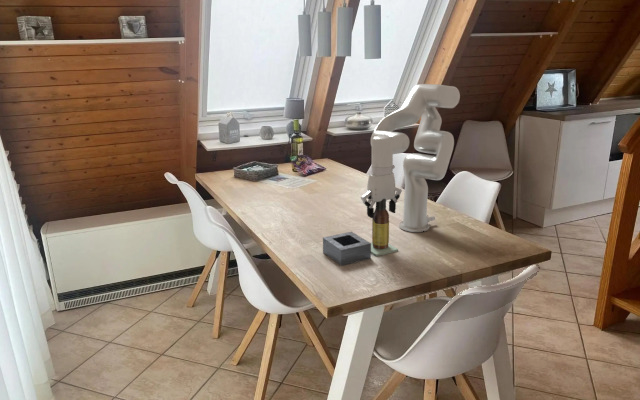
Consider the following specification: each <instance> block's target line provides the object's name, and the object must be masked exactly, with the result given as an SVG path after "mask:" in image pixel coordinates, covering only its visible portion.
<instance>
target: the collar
mask: <svg viewBox="0 0 640 400" xmlns="http://www.w3.org/2000/svg"><path fill="white" fill-rule="evenodd" d="M371 243H372V242H370V241H368V240H366V239H364V238H363V237H361V236H359V235H358V234H356V233H355V232H353V231H347V232H343V233H339V234H338V233H337V234H333V235H328V236H324V237H322V253H323V254H325V255H326V256H327V257H328V258H330V259H331V260H332V261H334V262H335V263H336V264H338V265H339V266H341V267H342V266H346V265H351V264H354V263H358V262H364V261H366V260H367V261H368V260H371V259H372V258H371V257H372V256H371V255H372V254H371Z"/></svg>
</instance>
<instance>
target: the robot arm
mask: <svg viewBox="0 0 640 400" xmlns="http://www.w3.org/2000/svg"><path fill="white" fill-rule="evenodd" d="M460 98H461V95H460V90H459V89H458V88H457V87H456V86H453V85H451V86H450V85H445V84H435V83H434V84H432V83H431V84H430V83H419V84H416V85H414V86H412V88H411V89H410V91H409V93H408V94H407V96H406V98H405V99H404V102H403V103H402V105H401V106H400V107H399V109H397V110H394V111H393V112H391V113H389V114H388V115H386V116H385V117H383V118H382V119H381V120H380V121H379V122H378V123H377V125H376V126H375V128H374V130H373V131H372V134H371V137H370V146H371V171H370V172H371V173H369V175H368V180H367V184H366V185H367V186H366V192H365V193H364V194H362V196H361V197H360V199H361V202H362V203H363V204H364V205H365V207H366V215H367V217H369V218H370V219H372V218H374V211H375V208H374V206H375V205H376V202H380V201H382V199H386V201H389V202H388V212H390V213H392V214H395V213H396V209H397V207H396V206H397V205H396V203H398V200H399V199H400V197H401V194H402V191H403V190H402V189H401V188H399V187H396V180H395V178H396V177H395V173H394V171H393V169H395V167H396V166H395V165H394V163H393V161H394V158H393V157H394V155H397V154H403V153H404V152H406V151H407V150H408V149H409V146H410V138H409V136H408V135H407V134H406V133H403V132H398V131H395V130H398V129H401V128H406V127H410V126H412V125H415V124H417V123H418V122H419V125H418V129H417V132H416V135H415V137H414V142H413V147H414V149H415V150H416V151H418V152H419V153H409V154H407V155H406V156H405V157H404V158H403V161H402V167H403V175H404V191H403V192H404V197H403V214H402V217H403V218H402V221H401V222H400V223H399V228H400V229H401V230H403V231H406V232H408V233H409V232H410V233H422V232H423V231H424V232H426V231H429V230H430V229H431V228H430V227H431V226H430V222H433V221H435V220H436V216H434V215H430V216H429V215H427V213H428V212H427V211H428V196H429V195H428V194H429V187H428V183H427V181H426V180H432V181H441V180H442V179H443V178H444V177H445V175H446V173H447V170H448V167H449V164H450V160H451V157H452V154H453V151H454V146H455V139H454V135H453V134H452V133H451V132H450V131H445V130H441V126H442V124H443V123H442V117H441V114H440V113H439V111H438V109H437V108H443V109H454V108H456V106H457V105H458V104H459V103H460ZM424 153H426V154H424ZM430 154H431V155H430Z"/></svg>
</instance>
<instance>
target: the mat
mask: <svg viewBox="0 0 640 400" xmlns="http://www.w3.org/2000/svg"><path fill="white" fill-rule="evenodd" d="M370 243H371V255H373V256H374V257H379V256H383V255H387V254H391V253H396V252H399V248H397V247H395V246H393V244H390V243H388V247H387V248H385V249H377V248H375V247H373V243H372V242H370Z"/></svg>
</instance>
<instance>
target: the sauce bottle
mask: <svg viewBox="0 0 640 400" xmlns="http://www.w3.org/2000/svg"><path fill="white" fill-rule="evenodd" d="M371 219H372V220H371V221H372V225H371V226H372V229H371V230H372V232H371V237H372V238H371V239H372V240H371V241H372V242H371V243H373V247H375V248H377V249H385V248H387V247H388V244H390V214H389V210H387V200H386V199H382V201H380V202H375V208H374V218H371Z"/></svg>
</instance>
